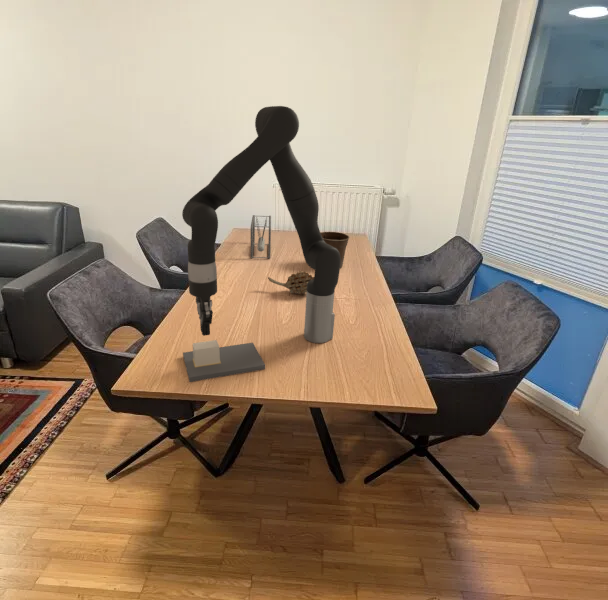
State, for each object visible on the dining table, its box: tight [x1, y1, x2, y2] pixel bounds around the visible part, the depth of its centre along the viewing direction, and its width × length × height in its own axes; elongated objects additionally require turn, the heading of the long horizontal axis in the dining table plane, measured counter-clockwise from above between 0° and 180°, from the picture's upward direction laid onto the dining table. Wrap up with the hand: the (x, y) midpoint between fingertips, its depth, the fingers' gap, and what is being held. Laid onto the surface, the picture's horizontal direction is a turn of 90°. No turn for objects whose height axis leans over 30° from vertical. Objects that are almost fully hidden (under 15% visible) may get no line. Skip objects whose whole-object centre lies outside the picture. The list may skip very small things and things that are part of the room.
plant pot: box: [320, 231, 350, 269], centre depth 211 cm, size 16×16×16 cm
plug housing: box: [192, 339, 220, 366], centre depth 121 cm, size 7×4×6 cm, turn 112°
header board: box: [182, 342, 266, 383], centre depth 123 cm, size 22×14×6 cm, turn 112°
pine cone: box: [267, 270, 314, 295], centre depth 176 cm, size 22×10×10 cm, turn 84°
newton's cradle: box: [250, 214, 272, 260], centre depth 228 cm, size 30×10×18 cm, turn 4°
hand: (205, 332), depth 118 cm, fingers closed
